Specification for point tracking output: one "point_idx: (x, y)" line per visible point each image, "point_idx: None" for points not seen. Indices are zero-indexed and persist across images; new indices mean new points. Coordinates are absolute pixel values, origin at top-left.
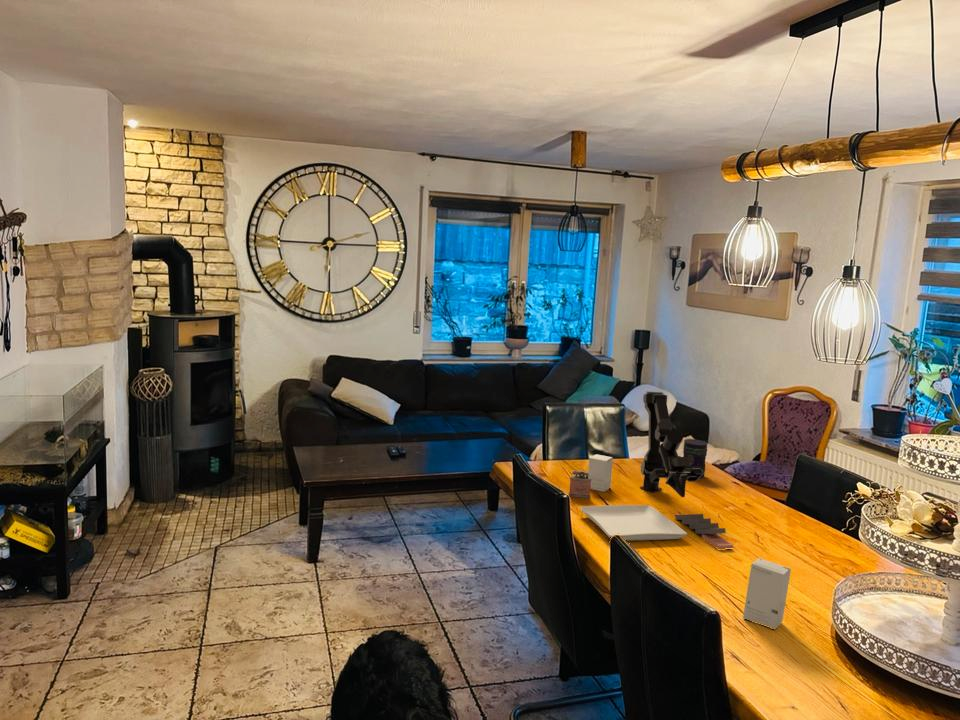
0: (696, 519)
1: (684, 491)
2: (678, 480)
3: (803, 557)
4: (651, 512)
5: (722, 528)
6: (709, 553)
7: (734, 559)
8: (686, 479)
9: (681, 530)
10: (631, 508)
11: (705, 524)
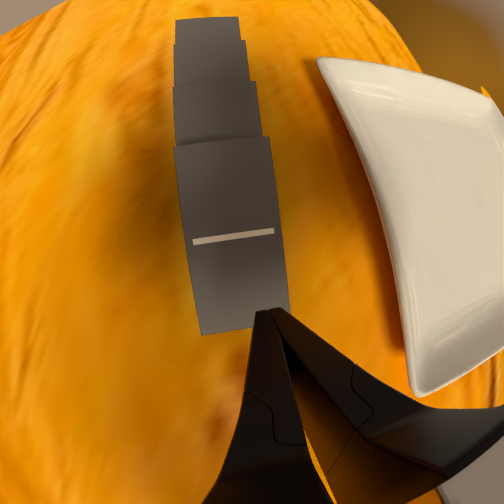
0: (255, 86)
1: (260, 339)
2: (387, 437)
3: (34, 45)
4: (412, 327)
5: (187, 19)
6: (263, 26)
7: (211, 8)
8: (213, 492)
9: (331, 82)
10: (478, 347)
11: (239, 43)
